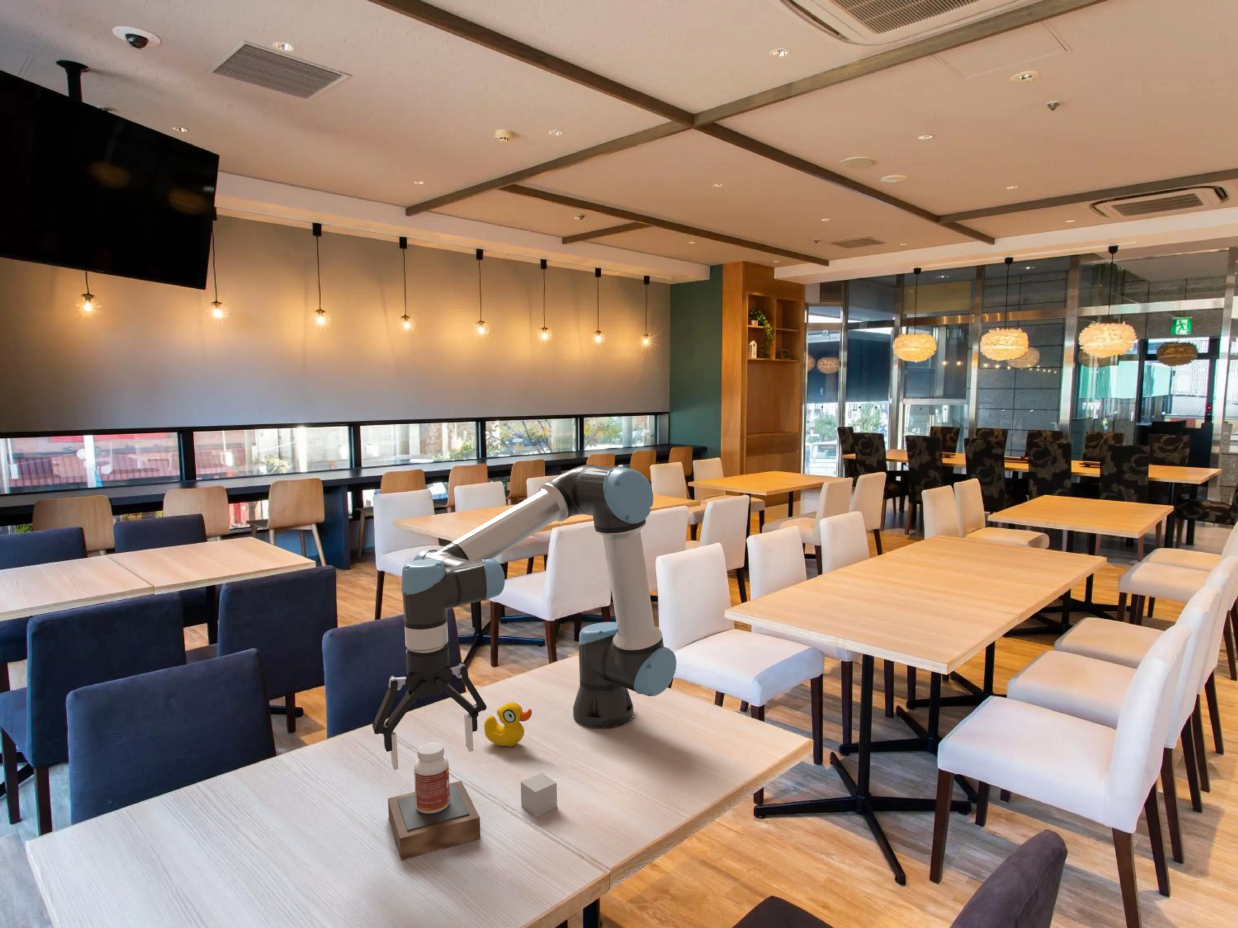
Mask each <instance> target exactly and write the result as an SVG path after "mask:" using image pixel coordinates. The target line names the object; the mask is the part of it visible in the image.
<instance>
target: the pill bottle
mask: <svg viewBox="0 0 1238 928" xmlns="http://www.w3.org/2000/svg"><path fill="white" fill-rule="evenodd" d="M444 754H445V748H444V745H443V743H441V742H428V743H425V744H422V745H421V746H419V747H418V749H417V758H418V759H417V760H416V761H415V763H414V765H413V771H414V772H413V773H414V792H415V800H416V808H417V810H418V811H420V812H422V813H427V814H432V813H437V812H440V811H442V810H444V809H445V808H446V807H447V806H448V805H449V803H450V788H449V783H450V768H449V766H450V765H449V759H448V757H446V756H445V755H444Z"/></svg>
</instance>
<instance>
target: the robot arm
mask: <svg viewBox="0 0 1238 928" xmlns="http://www.w3.org/2000/svg"><path fill="white" fill-rule="evenodd" d="M653 505H654V492H653V488H652V486H651V483H650V481H649V479H648V478H647V477H646V476H645V475H644V474H643V473H641V472H640V471H638V470H636V469H633V468H632V469H631V468H629V467H626V466H611V465H610V466H609V465H608V466H607V465H597V464H584V465H580V466H577V467H573V468H572V469H570V470H568V471H565V472H562V473H561V474H559V475H556V477H553V478H552V479H549V480H548V481H547V482H544V483H542V484H541V485H539V488H538V492H536V493H534V494H533V495H531V496H530V497H527V498H526V499H524V500H522V501H520V502H519V503H517V504H516V505H514V506H512V507H511V508H509V509H507V510H504V512H502V513H500V514H498V515H497V516H495V517H493V518H492V519H489V520H488V521H486V522H484V523H483V524H481V525H480V526H477V527H476V528H474V529H473V530H471V531H469V532H468V533H466V534H464V535H462V536H461V537H459V538H457V539H455V540H454V541H452V542H450V543H448V544H446V545H445V546H443V547H441V548H440V549H424V550H422V551H420V552H419V553H417V555H416V556H415V557H414V558H413V560H412V561H409V562H407V563H405V564H404V565H403V567H402V570H401V588H400V589H401V593H402V602H403V603H402V606H403V619H404V620H403V622H404V636H405V637H404V640H405V641H404V643H405V644H404V645H405V647H406V649H405V658H406V659H405V661H406V672H405V673H406V674H405V675H404V676H400V677H396V676H395V675H391V676H389V678H388V687H387V690H386V693H385V695H384V697H383V700H382V701H381V703H380V706H379V709H378V711H377V713H376V716H375V718H374V720H373V723H372V727H371V728H372V730H373V733H374V734H375V735H383V744H384V745H383V746H384V749H385V751H386V752H387V753H389V752H390V756H391V766H392V768H393V771H397V770H399V757H398V742H397V733H396V730H395V729H396V728H397V727H398V725H399V723H400V722H401V721H402V720H403V718H404V716H405V715H406V713H407V712H408V711H409V709H410V708H411V706H412V705H413V704H415V703H416V702H417V700H418V699H419V698H421V700H422V699H427V698H429V697H437V696H440V694H442V693H443V692H444V693H445V694H446V695H447V696H448V697H450V698H451V699H452V700H453V701H455V703H457V704H458V705H459V706H460V707H462V709H464V711H466V712H463V713H464V732H465V735H464V736H465V746H466V748H467V750H468V752H469V753H470V752H474V739H473V738H474V736H473V733H474V732H477V731H478V729H479V728H478V726H479V725H478V717H479V713H481V712H482V711H483V712H484V711H485V712H486V710H487V708H488V707H487V704H486V703H485V701H484V699H483V698H482V697H481V695H480V694H479V692H478V690H477V689H476V687H475V686H474V684H473V682H472V681H471V679H470V677H469V671H468V667H467V666H466V665H465V664H464V662H459V663H458V665H456V666H453V667H451V666H450V650H449V648H450V647H449V644H448V642H449V633H448V609H449V610H450V609H453V608H454V609H455V608H457V607H461V606H465V605H469V604H473V603H479V602H482V601H485V602H486V601H487V600H489V599H492V598H495V597H498V596H500V595H501V594H502V592H503V591H504V588H505V585H506V583H505V582H506V581H505V578H506V577H505V572H504V569H503V567H502V565H501V564H500V562H498V560H496V559H495V558H497V557H498V556H500V555H501V554H503V553H506V551H509V550H510V549H512V548H514V547H515V546H516V545H518V544H519V543H522V542H523V541H524V540H526V539H528V538H529V537H531V536H532V535H534V534H536V533H538V532H539V531H541V530H543V529H544V528H546V527H548V526H549V525H550V524H552V523H554V522H561V523H562V522H564V521H566V520H567V519H569V518H570V517H574V516H579V515H581V516H582V515H587V516H592V519H593V526H594V527H593V528H594V531H595V532H596V533H597V534H599V535H600V536H601V537H602V538H603V539H602V540H603V546H604V551H605V559H606V565H607V570H608V576H609V582H610V590H611V596H612V601H613V608H614V609H613V610H614V614H615V621H603V622H598V623H593V624H588V625H586V626H584V627H583V628H582V629H581V630H580V632H579V637H578V640H579V641H578V662H579V663H578V664H579V665H578V669H579V672H578V673H579V687H578V691H577V694H576V697H575V700H574V704H573V706H572V716H573V717H574V718H573V717H572V718H573V719H574V721H575V722H576V723H578V724H579V725H581V726H583V727H587V728H592V729H612V728H617V726H618V727H621V726H624V725H625V724H624V723H626V724H627V722H628V721H629V720H630V719H631V718H632V716H633V717H634V704H633V700H632V699H631V698H632V697H631V695H630V692H629V690H630V691H633V692H634V693H636V694H637V695H643V696H647V697H656V696H658V695H660V694H662V693H663V692H664V691H665V690H667V688H668V687H669V686H670V684H671V683H672V680H673V679H674V677H675V674H676V671H677V670H676V669H677V656H676V654H675V653H674V651H672V649H670V648H669V647H666V646H665V644H664V638H663V633H662V630H661V629H659V628H658V627H656V626H655V622H654V615H653V606H652V600H651V594H650V587H649V579H648V573H647V572H648V571H647V567H646V565H647V564H646V560H645V552H644V545H643V541H642V540H643V539H642V538H643V537H642V532H641V531H642V529H644V527H645V525H646V524H647V520H646V519H648V517H649V516H650V514H651V511H652V510H651V507H653ZM453 675H455V676H456V678H457V679H461V682H463V685H464V686H465V687H466V689H467V691H468V692H469V694H470V695H471V697H472V699H473V700H474V702H475V704H472V703H471V702H470V701H469V700H467V699H466V698H465V696H463V695H462V694H461V693H459V692H458V691H457V690H456V689H455V688H454V687H453V686H452V685H451V684H450V683H449V682H450V680H451V679H452V677H453ZM404 685H405V686H407V687H408V688H407V690H406V691H405V694H404V696H403V697H402V699H401V700H400V702H399V703H398V705H397V706H396V707H395V709H394V710H393V711H392V712H391V714H390V711H391V709H392V706H393V704H394V702H395V700H396V697H397V695H398V691H400V690H401V689H402V688H403V686H404ZM389 714H390V715H389ZM388 716H389V717H388ZM632 719H633V718H632ZM632 719H631V720H632ZM631 720H630V721H631ZM630 721H629V722H630ZM629 722H628V723H629ZM623 724H624V725H623Z"/></svg>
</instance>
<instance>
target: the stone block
mask: <svg viewBox="0 0 1238 928" xmlns="http://www.w3.org/2000/svg"><path fill="white" fill-rule="evenodd" d="M557 789H558V784H557V781H556V780H553V779H551V778H550V777H549V776H548V775H546V774H544V773H542V772H541V773H538V774H535V775H533V776H531V777H529V778H526V779H524V780H521V781H520V804H521V807H522V808H524V809H525V810H526V811H528V812H529V813H530V814H531V815H533V816H534V817H539V816H541V815H543V814H545V813H547V812H549V811H551V810H554V809H556V808H557V807H558V790H557Z"/></svg>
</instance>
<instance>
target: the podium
mask: <svg viewBox="0 0 1238 928" xmlns="http://www.w3.org/2000/svg"><path fill="white" fill-rule="evenodd" d="M449 788H450V803H449V805H448V806H447V807H446V808H445V809H444V810H442V811H440V812H437V813H432V814H427V813H422V812H420V811H418V810H417V808H416V800H415V791H413V792H408V793H403V794H400V795H396V796H392V797H388V798H387V809H388V820H389V825H390V828H391V830H392V835H393V837H394V841H395V844H396V849H397V852H398V855H399V859H400V861H404V860H406V859H411V858H414V857H417V856H422V855H425V854H428V853H429V854H430V853H432V852H436V851H439V850H444V849H447V848H450V847H453V846H457V845H461V844H462V845H463V844H464V843H467V842H472V841H475V840H480V839H481V817H480V815H479V812H478V811H477V808H476V807H475V805H474V802H473V801H472V799H471V797H470V795H469V793H468V791H467V789H466V787H465V785H464V783H463V781H462V780H458V781H453V782H449Z"/></svg>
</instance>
